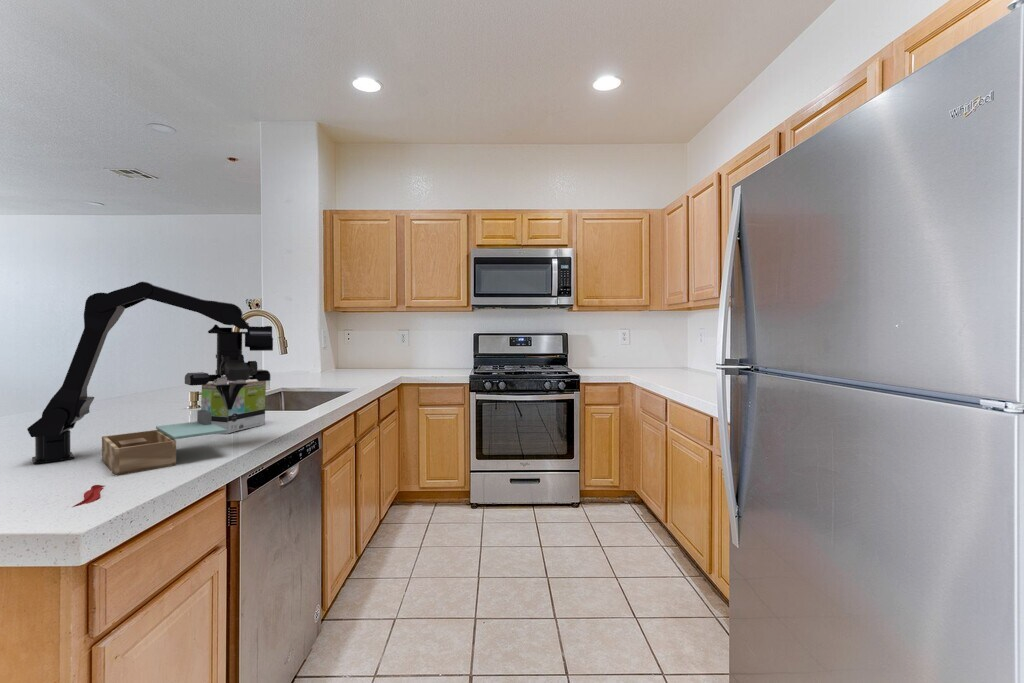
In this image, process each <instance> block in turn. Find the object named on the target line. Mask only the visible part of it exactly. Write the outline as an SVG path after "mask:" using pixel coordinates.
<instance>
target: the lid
mask: <svg viewBox="0 0 1024 683" xmlns="http://www.w3.org/2000/svg"><path fill="white" fill-rule="evenodd" d="M196 411H197V412H196V415H197V416H196V418H197V419H196V421H190V422H189V421H188V422H182V423H174V424H163V425H157V426H155V430H159V431H161V432H162V433H164V434H166V435H167V436H169V437H170V438H172V439H174V440H180V439H181V440H182V439H188V438H195V437H196V438H197V437H203V436H210V435H218V434H221V433H225V432H227V430H226V429H224V428H221V427H219V426H217V425H214V424H212V423H211V412H209V411H206V410H201V409H197V410H196Z"/></svg>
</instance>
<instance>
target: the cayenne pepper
mask: <svg viewBox="0 0 1024 683" xmlns="http://www.w3.org/2000/svg"><path fill="white" fill-rule="evenodd" d="M104 488H105V485H101V484H93V485H92V486H91V487H90V489H88V490H86V491H85V492H84V494H83V496H84V497H83V499H82V501H80V502H78V503H76V504H74V505H73V506H71V508H75V507H78V506H82V505H85V504H86V505H87V504H88V505H89V504H91V503H93V502H95V501H98V500H99V499H101V493H100V492H101V491H102V490H103V489H104Z"/></svg>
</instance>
